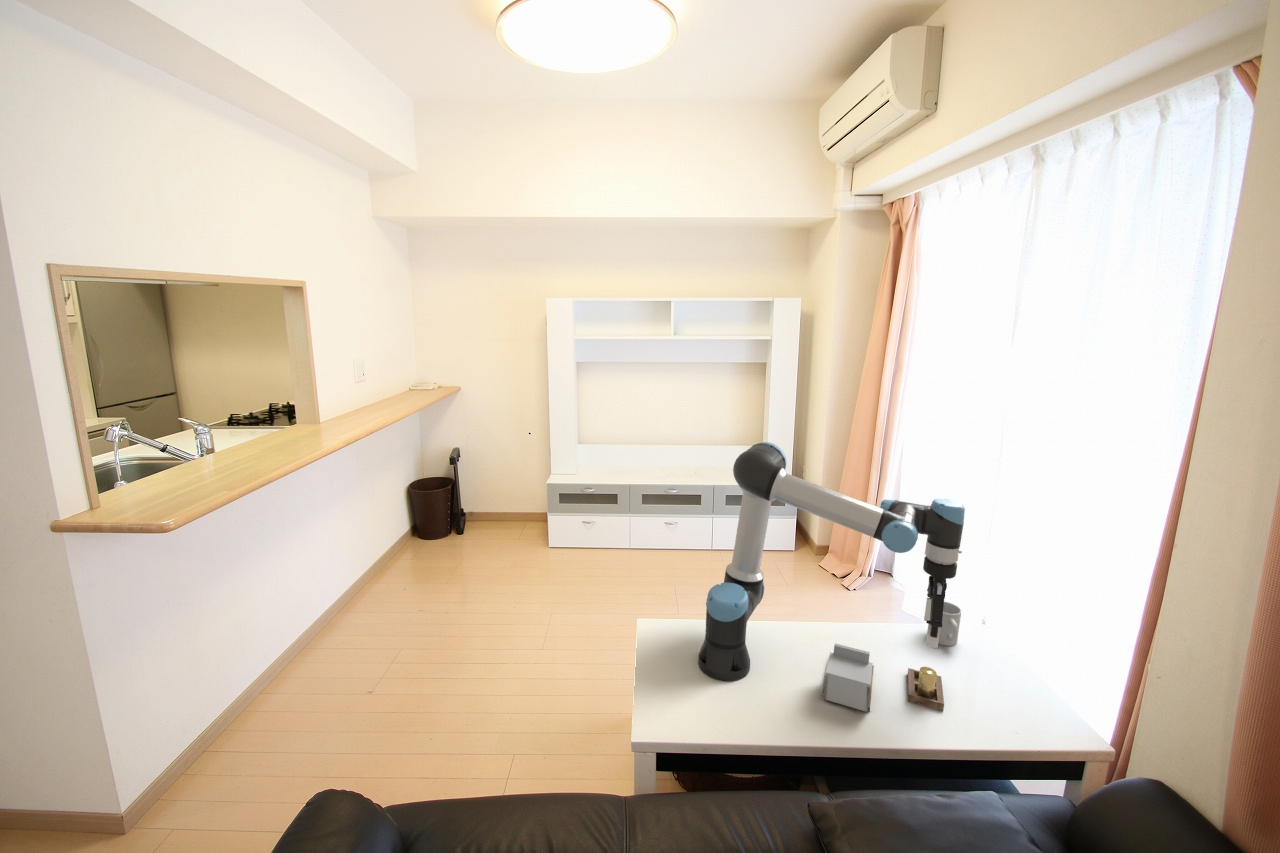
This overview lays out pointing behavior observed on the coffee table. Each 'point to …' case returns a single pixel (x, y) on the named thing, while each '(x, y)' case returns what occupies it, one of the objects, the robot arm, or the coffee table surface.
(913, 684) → the socket block
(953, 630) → the mug
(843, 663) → the cover
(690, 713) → the coffee table surface
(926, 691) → the peg
